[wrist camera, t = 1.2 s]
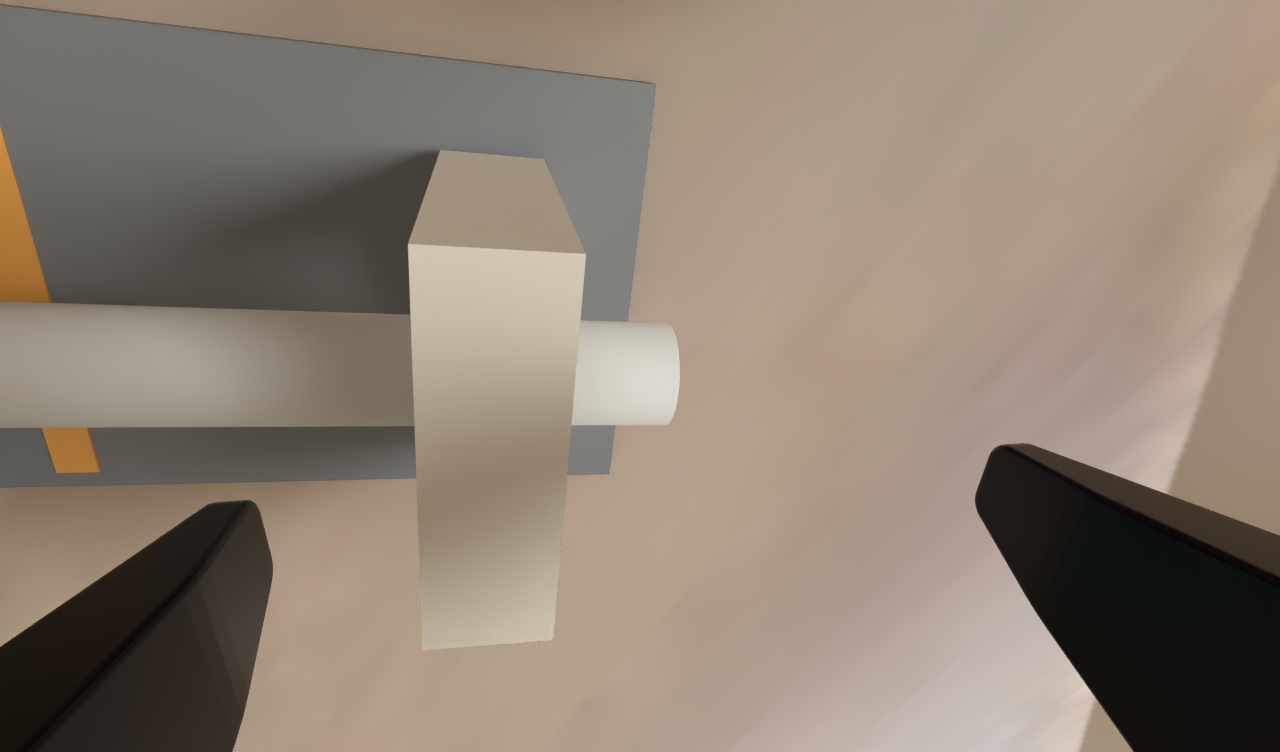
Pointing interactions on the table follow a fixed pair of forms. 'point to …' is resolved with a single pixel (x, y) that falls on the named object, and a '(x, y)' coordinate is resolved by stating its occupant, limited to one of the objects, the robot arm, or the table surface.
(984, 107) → the table surface
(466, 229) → the collar ring
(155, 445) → the pipe mount
